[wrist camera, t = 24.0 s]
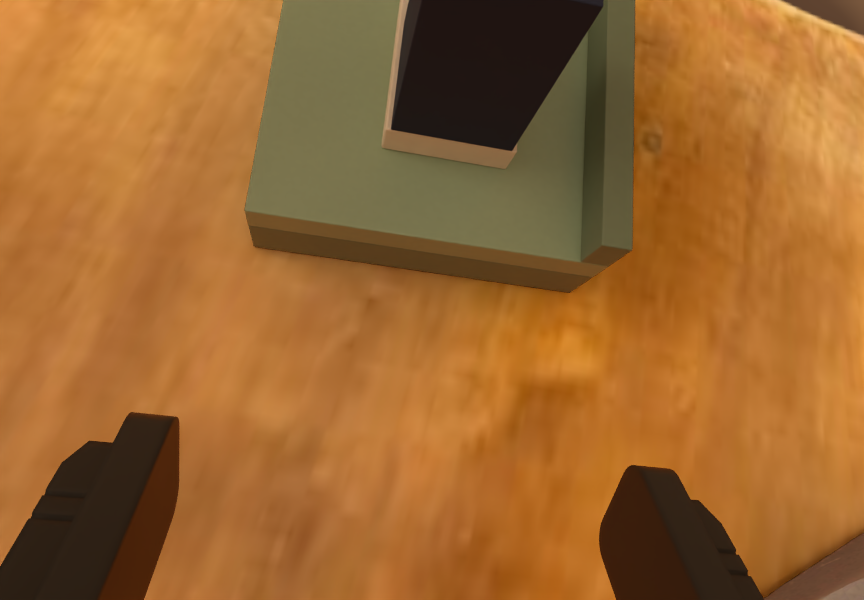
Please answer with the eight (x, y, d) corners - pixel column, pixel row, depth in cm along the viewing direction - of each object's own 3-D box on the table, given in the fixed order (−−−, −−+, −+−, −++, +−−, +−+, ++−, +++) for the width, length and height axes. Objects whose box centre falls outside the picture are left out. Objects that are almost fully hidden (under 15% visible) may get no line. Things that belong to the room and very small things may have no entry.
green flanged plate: (253, 246, 27) (238, 187, 22) (308, -62, 32) (308, -180, 26) (570, 293, 29) (633, 250, 24) (581, -3, 34) (636, -100, 28)
